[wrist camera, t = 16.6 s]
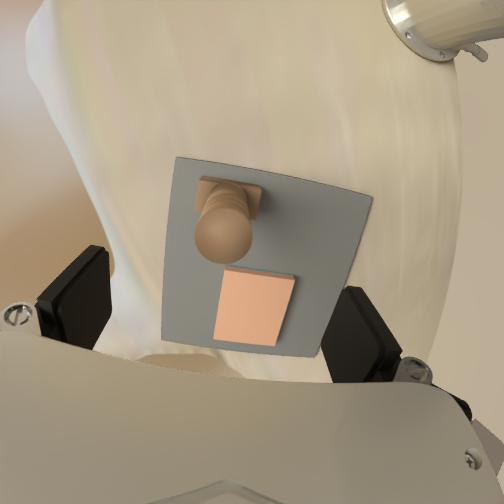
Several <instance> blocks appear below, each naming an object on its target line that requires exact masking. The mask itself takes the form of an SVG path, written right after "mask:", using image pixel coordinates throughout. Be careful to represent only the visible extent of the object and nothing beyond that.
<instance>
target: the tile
mask: <svg viewBox="0 0 504 504" xmlns="http://www.w3.org/2000/svg"><path fill="white" fill-rule="evenodd" d="M294 282H295V279H294V277H293V274H287V273H281V272H274V271H267V270H260V269H254V268H247V267H240V266H234V265H227V264H225V267H224V273H223V279H222V285H221V291H220V297H219V303H218V309H217V315H216V321H215V328H214V336H213V339H216V340H223V341H231V342H240V343H248V344H258V345H268V346H275V343H276V340H277V337H278V334H279V331H280V328H281V325H282V321H283V318H284V315H285V312H286V309H287V305H288V302H289V299H290V295H291V292H292V289H293V285H294Z"/></svg>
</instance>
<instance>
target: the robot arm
mask: <svg viewBox="0 0 504 504" xmlns="http://www.w3.org/2000/svg"><path fill="white" fill-rule="evenodd" d="M382 6H383V9H384V13H385V15H386V18H387V20H388V22H389V24H390V25H391V27H392V29H393V30H394V31H395V33H396V34H397V35H398V37H399V38H400V39H401V40H402V41H403V42H404V43H405V44H406V45H407V46H408V47H409V48H411V49H412V50H413V51H414V52H416V53H417V54H419V55H420V56H422V57H424V58H426V59H429V60H432V61H440V62H442V61H448V60H450V59H453V58H454V57H455V56H457V54H458V53H459V51H460V50H462V49H463V50H464V51H466V52H470V53H472V55H473V56H475V57H476V58H477V59H479V60H480V61H481V62H485V61H486V60H487V58H488V54H487V53H486V52H485V51H484V50H483V49H482V48H481V47H479V46H478V45H476V44H475V42H480V41H486V40H491V39H498V38H504V0H382ZM37 301H38V302H37V303H36V304H35V305H34V306H33V305H32V304H30V303H28V302H16V303H13V304H11V305H9V306H7V307H6V308H5V309H4V310H3V311H2V313H1V314H0V504H504V495H503V492H502V489H501V487H500V484H499V481H498V479H497V475H498V472H499V470H500V468H501V466H502V463H503V461H504V444H503V443H502V442H501V440H499V439H498V438H497V437H496V436H495V435H494V434H492V433H491V432H490V431H489V430H488V429H487V428H486V427H484V426H483V425H482V424H481V423H480V422H479V421H478V420H476V419H474V420H473V421H472V420H471V419H472V413H471V409H470V408H469V405H468V404H467V403H466V402H465V401H464V400H461V399H459V398H458V397H456V396H454V395H452V394H450V393H448V392H447V391H445V390H443V389H441V388H439V387H437V386H435V385H434V384H432V371H431V369H430V368H429V367H428V365H427V364H425V363H424V362H423V361H421V360H420V359H417V358H415V357H405V358H403V359H401V357H400V354H401V353H402V351H403V350H402V349H401V347H400V346H399V344H398V342H397V341H396V339H395V338H394V336H393V334H392V333H391V331H390V330H389V328H388V327H387V325H386V324H385V322H384V320H383V319H382V317H381V316H380V314H379V313H378V311H377V310H376V308H375V307H374V305H373V304H372V302H371V301H370V299H369V298H368V297H367V295H366V294H365V292H364V291H363V289H362V288H361V287H354V286H347V287H346V288H345V289H342V290H341V293H340V295H339V298H338V300H337V303H336V305H335V308H334V310H333V313H332V315H331V318H330V320H329V323H328V325H327V327H326V330H325V332H324V334H323V337H322V339H321V349H322V352H323V354H324V357H325V360H326V363H327V366H328V369H329V372H330V375H331V378H332V381H333V383H307V382H284V381H268V380H256V379H245V378H235V377H226V376H218V375H211V374H203V373H196V372H190V371H183V370H178V369H172V368H167V367H162V366H156V365H151V364H147V363H142V362H137V361H133V360H128V359H124V358H120V357H116V356H112V355H108V354H104V353H100V352H96V351H93V350H92V349H93V347H94V345H95V344H96V342H97V340H98V338H99V336H100V334H101V333H102V331H103V329H104V327H105V325H106V324H107V322H108V320H109V318H110V316H111V313H112V302H111V288H110V270H109V253H108V252H107V251H105V248H104V247H100V246H95V245H90V246H89V247H88V248H87V249H86V250H84V251H83V252H82V253H81V254H80V255H79V256H78V257H77V258H76V259H75V260H74V261H73V262H72V263H71V264H70V265H69V266H68V267H67V268H66V269H65V270H64V271H63V272H62V273H61V274H60V275H59V276H58V277H57V278H56V279H55V280H54V281H53V282H52V283H51V284H50V285H49V286H48V287H47V288H46V289H45V290H44V291H43V293H42V294H41V295H40V296H39V297H38V298H37Z"/></svg>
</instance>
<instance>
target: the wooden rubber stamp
mask: <svg viewBox="0 0 504 504" xmlns="http://www.w3.org/2000/svg"><path fill="white" fill-rule="evenodd" d="M261 192H262V190H261V188H260V186H259V185H256V184H250V183H245V182H239V181H233V180H227V179H221V178H215V177H209V176H201V178H200V179H199V180H198V187H197V193H196V200H195V207H194V211H200V212H202V214H201V216H200V219H199V221H198V224H197V226H196V229H195V234H194V239H195V244H196V247H197V249H198V251H199V252H200V253H201V255H202V256H203V257H205V258H206V259H207V260H209V261H211V262H214V263H217V264H231V263H234V262H237V261H238V260H240V259H242V258H243V257H244V256H245V255H246V254H247V253H248V251H249V250H250V247H251V245H252V240H253V234H252V228H251V222H250V220H255V221H256V216H257V212H258V207H259V202H260V197H261Z"/></svg>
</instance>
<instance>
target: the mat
mask: <svg viewBox="0 0 504 504" xmlns="http://www.w3.org/2000/svg"><path fill="white" fill-rule="evenodd" d="M201 176H209V177H215V178H221V179H227V180H233V181H239V182H245V183H250V184H256V185H259V186H260V188H261V190H262V192H261V197H260V202H259V207H258V212H257V216H256V221H255V220H250V222H251V228H252V234H253V240H252V245H251V247H250V250H249V251H248V253H247V254H246V255H245V256H244V257H243V258H242V259H240V260H238V261H237V262H234V263H231V264H227V265H234V266H240V267H247V268H254V269H260V270H267V271H274V272H281V273H287V274H293V277H294V279H295V282H294V285H293V289H292V292H291V295H290V299H289V302H288V305H287V309H286V312H285V315H284V318H283V321H282V325H281V328H280V331H279V334H278V337H277V340H276V343H275V346H268V345H258V344H248V343H240V342H231V341H223V340H216V339H213V336H214V328H215V321H216V315H217V309H218V303H219V297H220V291H221V285H222V279H223V273H224V267H225V264H217V263H214V262H211V261H209V260H207V259H206V258H205V257H203V256H202V255H201V253H200V252H199V251H198V249H197V247H196V244H195V239H194V234H195V229H196V226H197V224H198V221H199V219H200V216H201V214H202V212H200V211H194V207H195V200H196V193H197V187H198V180H199V179H200V178H201ZM371 201H372V197H371V196H369V195H365V194H361V193H358V192H354V191H350V190H346V189H342V188H338V187H334V186H330V185H326V184H322V183H318V182H313V181H309V180H305V179H300V178H296V177H291V176H286V175H282V174H277V173H272V172H267V171H262V170H256V169H251V168H245V167H240V166H234V165H228V164H222V163H216V162H209V161H203V160H196V159H189V158H181V157H176V159H175V166H174V173H173V180H172V188H171V196H170V205H169V214H168V224H167V234H166V246H165V259H164V274H163V293H162V322H161V340H164V341H170V342H175V343H181V344H187V345H194V346H200V347H207V348H214V349H222V350H230V351H239V352H248V353H258V354H269V355H281V356H295V357H313V358H314V357H315V355H316V353H317V351H318V348H319V346H320V344H321V339H322V337H323V334H324V332H325V330H326V327H327V325H328V323H329V320H330V318H331V315H332V313H333V310H334V308H335V305H336V303H337V300H338V298H339V295H340V293H341V290H342V289H343V286H344V284H345V281H346V278H347V275H348V273H349V270H350V267H351V264H352V261H353V258H354V255H355V252H356V249H357V246H358V243H359V240H360V237H361V234H362V231H363V228H364V224H365V221H366V218H367V214H368V211H369V208H370V204H371Z"/></svg>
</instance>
